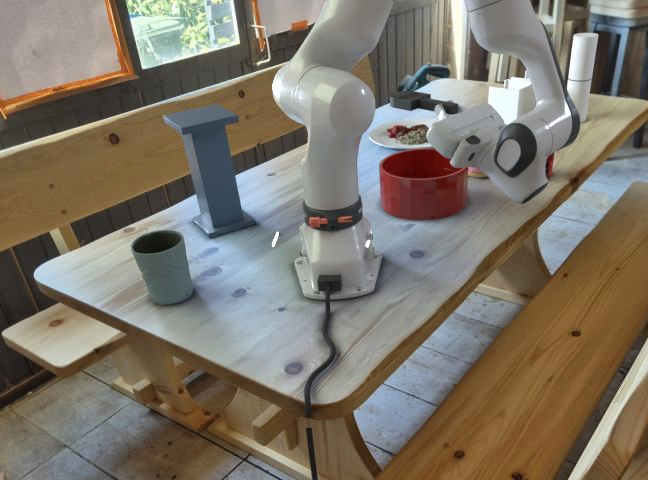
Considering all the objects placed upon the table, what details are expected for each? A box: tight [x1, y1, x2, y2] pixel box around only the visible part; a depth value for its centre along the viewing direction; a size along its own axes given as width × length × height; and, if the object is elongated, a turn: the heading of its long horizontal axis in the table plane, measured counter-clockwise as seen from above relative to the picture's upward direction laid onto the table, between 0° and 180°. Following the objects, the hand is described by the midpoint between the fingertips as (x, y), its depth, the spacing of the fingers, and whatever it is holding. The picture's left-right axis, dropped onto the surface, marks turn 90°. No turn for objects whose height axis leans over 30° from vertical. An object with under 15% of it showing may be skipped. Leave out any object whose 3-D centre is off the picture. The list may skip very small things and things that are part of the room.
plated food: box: [368, 117, 440, 151], centre depth 191 cm, size 30×30×3 cm
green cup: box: [130, 229, 194, 306], centre depth 118 cm, size 10×10×12 cm
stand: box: [162, 103, 256, 239], centre depth 141 cm, size 13×13×26 cm
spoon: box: [389, 90, 459, 116], centre depth 137 cm, size 18×7×2 cm, turn 44°
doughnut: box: [468, 167, 489, 178], centre depth 163 cm, size 11×11×4 cm
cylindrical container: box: [566, 32, 599, 123], centre depth 189 cm, size 7×7×25 cm
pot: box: [378, 148, 469, 221], centre depth 148 cm, size 22×22×10 cm
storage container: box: [487, 70, 537, 125], centre depth 202 cm, size 25×11×11 cm, turn 139°
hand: (441, 104), depth 133 cm, fingers closed on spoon, 2 cm apart
